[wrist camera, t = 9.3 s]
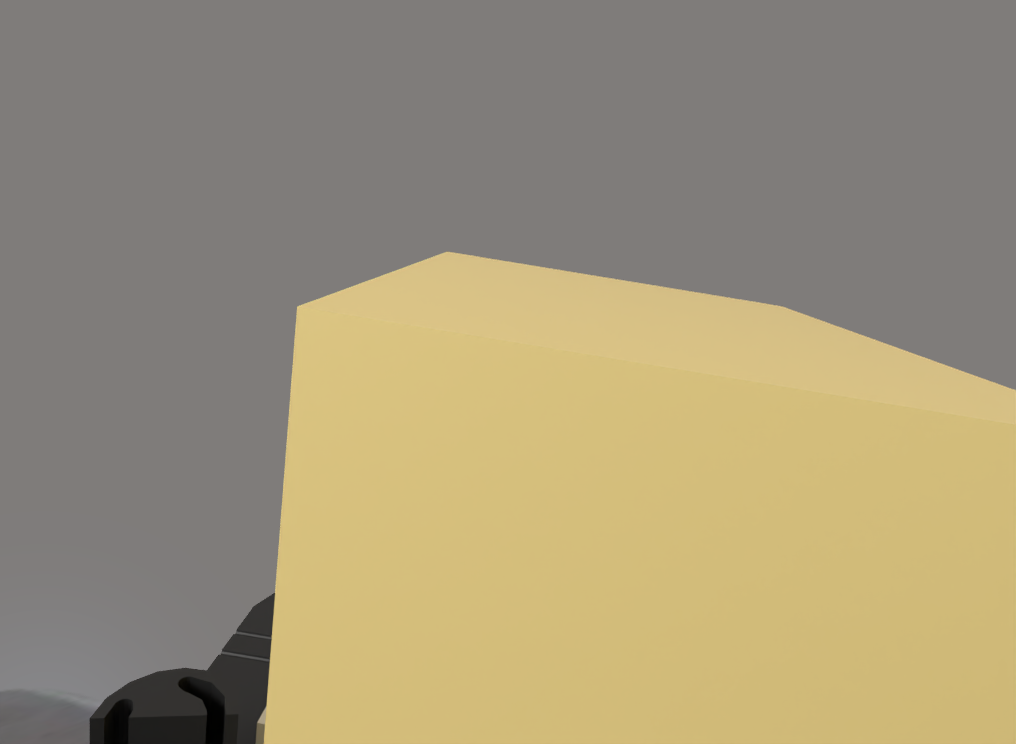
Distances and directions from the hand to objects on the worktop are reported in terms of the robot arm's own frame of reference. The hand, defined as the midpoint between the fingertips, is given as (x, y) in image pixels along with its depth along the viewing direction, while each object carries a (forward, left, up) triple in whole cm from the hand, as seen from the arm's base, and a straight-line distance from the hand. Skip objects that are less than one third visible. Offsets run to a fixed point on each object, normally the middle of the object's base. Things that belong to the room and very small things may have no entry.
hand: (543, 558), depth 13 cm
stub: (0, +5, -10) cm, 11 cm away
